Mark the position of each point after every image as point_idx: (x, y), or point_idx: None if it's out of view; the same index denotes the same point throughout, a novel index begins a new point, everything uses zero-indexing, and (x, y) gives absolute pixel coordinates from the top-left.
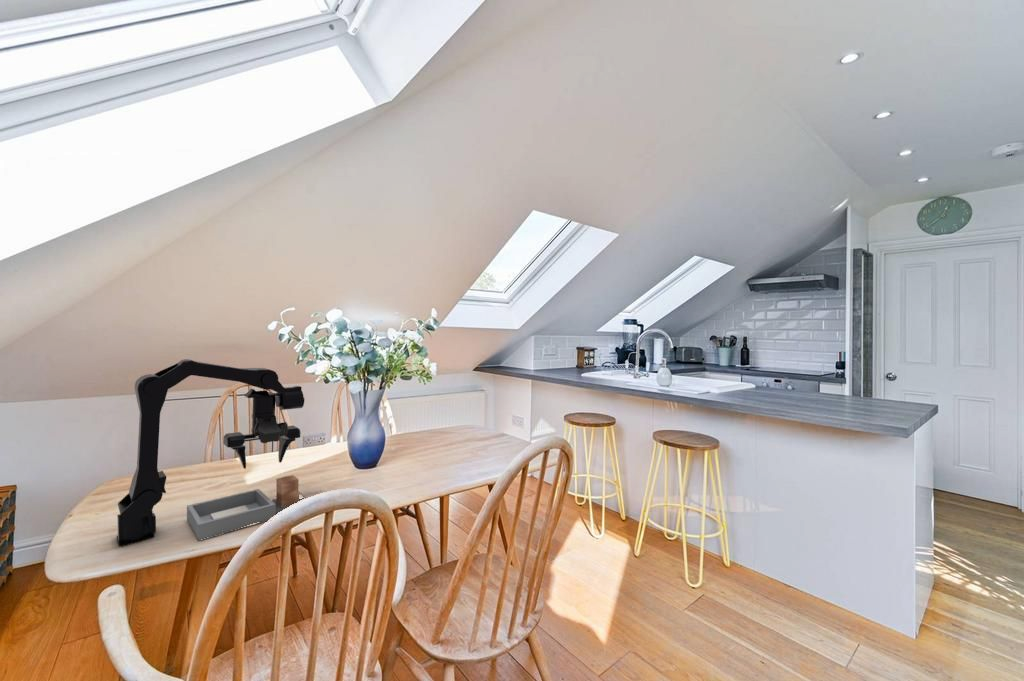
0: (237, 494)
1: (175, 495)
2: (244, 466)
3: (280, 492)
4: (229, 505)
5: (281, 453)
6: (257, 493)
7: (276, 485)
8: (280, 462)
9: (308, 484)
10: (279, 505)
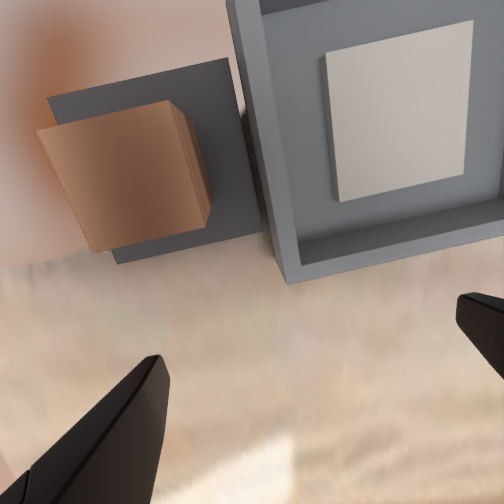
0: (378, 254)
1: (469, 424)
2: (495, 297)
3: (189, 139)
4: (388, 229)
5: (101, 435)
6: (295, 238)
7: (208, 215)
8: (155, 355)
9: (90, 360)
10: (202, 152)
